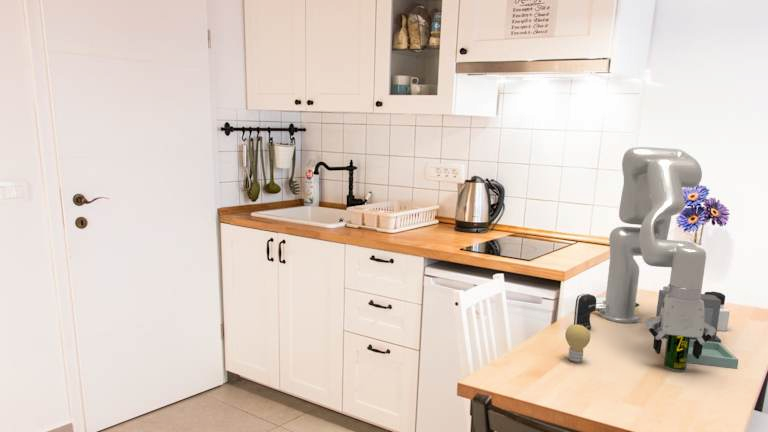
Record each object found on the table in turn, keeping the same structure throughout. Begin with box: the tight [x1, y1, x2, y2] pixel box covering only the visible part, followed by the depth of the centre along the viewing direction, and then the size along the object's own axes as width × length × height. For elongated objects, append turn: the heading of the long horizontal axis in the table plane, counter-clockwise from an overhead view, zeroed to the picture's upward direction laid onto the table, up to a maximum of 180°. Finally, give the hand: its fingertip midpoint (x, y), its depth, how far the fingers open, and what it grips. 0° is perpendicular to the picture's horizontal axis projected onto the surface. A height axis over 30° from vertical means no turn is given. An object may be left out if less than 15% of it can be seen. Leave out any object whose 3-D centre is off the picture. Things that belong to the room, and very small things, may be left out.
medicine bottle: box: [703, 290, 730, 332], centre depth 185 cm, size 7×7×12 cm
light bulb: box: [565, 324, 591, 363], centre depth 151 cm, size 6×6×10 cm
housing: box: [652, 289, 722, 344], centre depth 175 cm, size 18×9×14 cm, turn 78°
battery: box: [573, 293, 597, 330], centre depth 176 cm, size 7×4×11 cm, turn 129°
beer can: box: [663, 335, 690, 373], centre depth 149 cm, size 5×5×12 cm
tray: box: [687, 339, 739, 369], centre depth 159 cm, size 13×13×3 cm
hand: (676, 354), depth 149 cm, fingers open, 9 cm apart
